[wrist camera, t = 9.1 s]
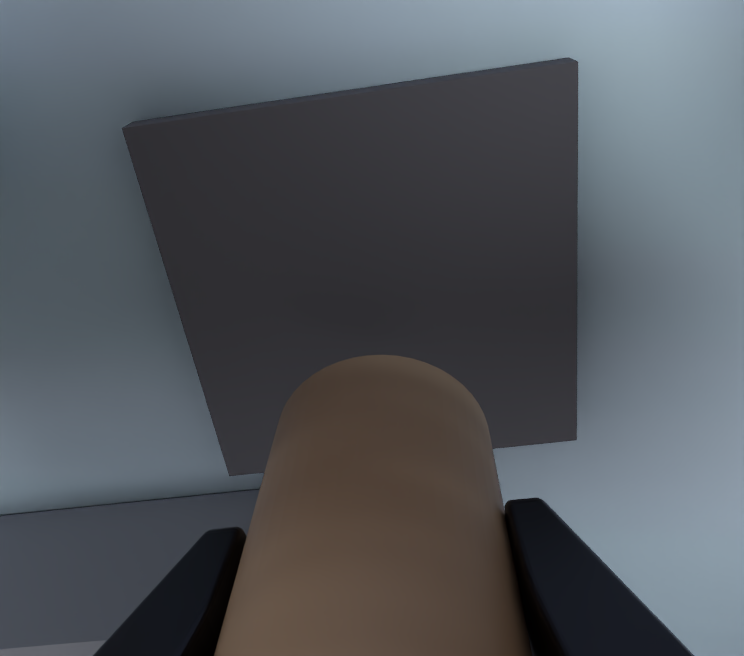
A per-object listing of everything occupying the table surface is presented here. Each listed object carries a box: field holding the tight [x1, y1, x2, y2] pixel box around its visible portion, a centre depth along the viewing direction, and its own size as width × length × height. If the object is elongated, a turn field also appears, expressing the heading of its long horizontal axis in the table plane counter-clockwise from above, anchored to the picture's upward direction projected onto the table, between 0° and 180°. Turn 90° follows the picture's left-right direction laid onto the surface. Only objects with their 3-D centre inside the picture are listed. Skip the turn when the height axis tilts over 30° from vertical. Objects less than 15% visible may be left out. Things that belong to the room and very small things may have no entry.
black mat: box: [122, 58, 578, 476], centre depth 14 cm, size 8×8×1 cm
